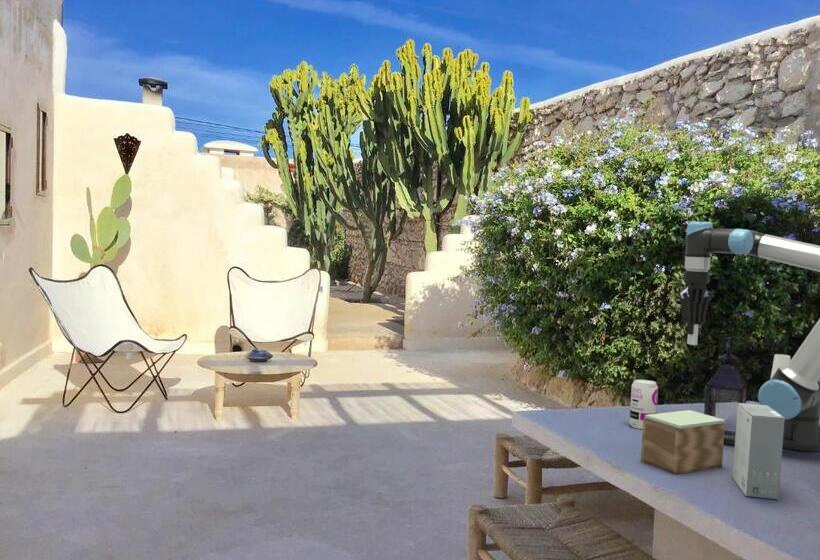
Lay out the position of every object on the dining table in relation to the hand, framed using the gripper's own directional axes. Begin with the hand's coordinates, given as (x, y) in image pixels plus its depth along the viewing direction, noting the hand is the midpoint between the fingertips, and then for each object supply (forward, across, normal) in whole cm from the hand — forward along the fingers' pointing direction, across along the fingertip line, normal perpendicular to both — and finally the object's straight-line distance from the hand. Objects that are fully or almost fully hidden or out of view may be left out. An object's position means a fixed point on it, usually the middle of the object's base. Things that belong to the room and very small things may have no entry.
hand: (692, 344), depth 238 cm
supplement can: (+29, +9, -10) cm, 32 cm away
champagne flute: (+29, -39, +5) cm, 48 cm away
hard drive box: (+29, +29, +46) cm, 61 cm away
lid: (+16, +30, +24) cm, 42 cm away
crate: (+28, +30, +24) cm, 48 cm away
